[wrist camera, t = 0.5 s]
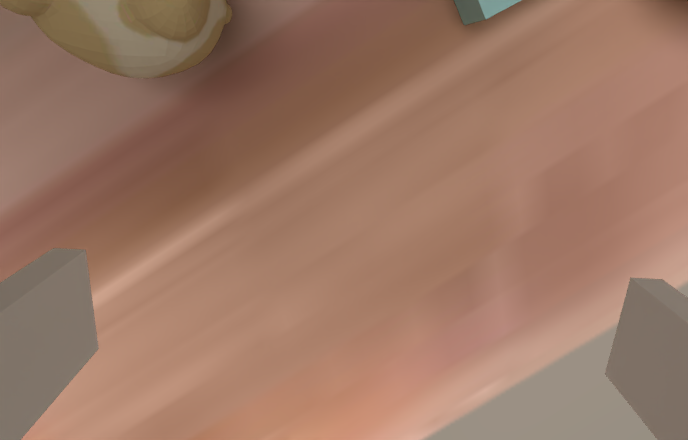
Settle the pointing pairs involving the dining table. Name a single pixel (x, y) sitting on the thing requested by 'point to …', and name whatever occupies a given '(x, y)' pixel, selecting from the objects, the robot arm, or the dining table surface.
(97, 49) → the toy
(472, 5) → the teal block
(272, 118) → the dining table surface
